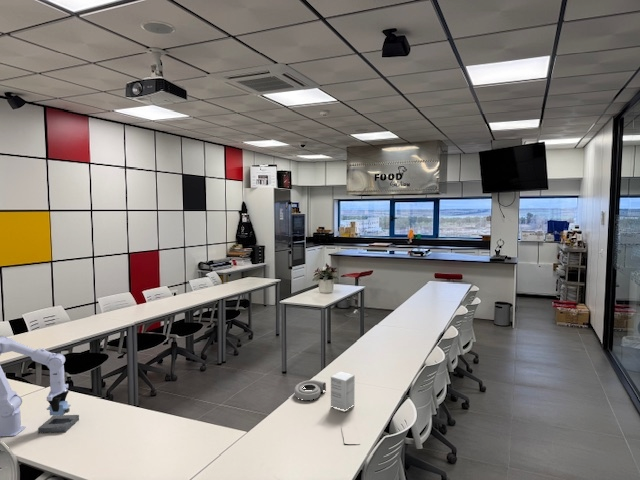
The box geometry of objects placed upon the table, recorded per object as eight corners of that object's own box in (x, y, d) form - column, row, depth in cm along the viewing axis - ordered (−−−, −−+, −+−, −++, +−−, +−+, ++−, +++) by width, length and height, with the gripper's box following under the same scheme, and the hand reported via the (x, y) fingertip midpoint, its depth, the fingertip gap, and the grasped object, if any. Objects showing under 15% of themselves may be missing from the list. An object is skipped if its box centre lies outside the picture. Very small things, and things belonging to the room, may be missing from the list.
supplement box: (340, 401, 223) (340, 370, 222) (354, 406, 218) (355, 374, 217) (330, 408, 215) (330, 376, 214) (345, 413, 210) (345, 380, 209)
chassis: (38, 433, 190) (38, 428, 190) (53, 420, 202) (53, 415, 201) (65, 432, 190) (65, 427, 190) (79, 419, 202) (78, 414, 202)
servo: (46, 415, 193) (46, 405, 193) (51, 411, 197) (51, 401, 197) (66, 415, 194) (66, 404, 193) (71, 411, 198) (70, 400, 197)
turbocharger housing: (289, 399, 228) (311, 406, 220) (288, 388, 228) (311, 394, 219) (306, 386, 242) (328, 392, 234) (306, 376, 242) (327, 381, 234)
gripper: (57, 387, 188) (58, 416, 188) (74, 374, 202) (75, 401, 203) (41, 387, 187) (42, 416, 188) (59, 375, 202) (60, 402, 202)
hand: (58, 409), depth 195 cm, fingers closed on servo, 4 cm apart
